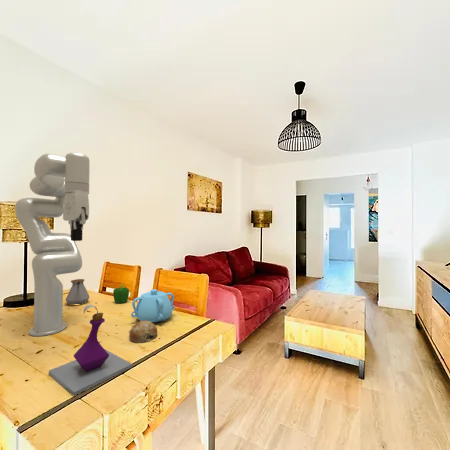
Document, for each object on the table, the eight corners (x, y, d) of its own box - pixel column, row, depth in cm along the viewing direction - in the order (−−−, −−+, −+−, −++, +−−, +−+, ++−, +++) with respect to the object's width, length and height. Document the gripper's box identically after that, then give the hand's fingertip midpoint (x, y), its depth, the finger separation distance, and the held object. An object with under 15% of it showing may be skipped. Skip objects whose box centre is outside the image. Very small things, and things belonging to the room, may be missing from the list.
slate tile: (48, 374, 70) (48, 370, 70) (104, 351, 83) (104, 348, 83) (74, 396, 61) (74, 392, 61) (132, 367, 74) (132, 363, 74)
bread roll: (137, 354, 89) (144, 336, 87) (121, 336, 94) (127, 318, 92) (158, 344, 97) (164, 327, 95) (142, 327, 102) (148, 311, 100)
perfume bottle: (100, 357, 78) (100, 299, 78) (109, 366, 72) (110, 304, 73) (73, 366, 72) (73, 304, 73) (80, 377, 67) (81, 310, 67)
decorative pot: (149, 312, 123) (149, 284, 124) (178, 315, 119) (178, 286, 119) (127, 324, 108) (127, 292, 108) (159, 328, 103) (159, 295, 103)
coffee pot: (65, 302, 140) (66, 275, 140) (88, 299, 146) (89, 273, 146) (64, 313, 122) (64, 282, 122) (91, 309, 128) (91, 280, 128)
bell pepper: (121, 305, 135) (121, 286, 135) (110, 303, 137) (110, 285, 138) (132, 301, 142) (132, 283, 143) (121, 299, 145) (121, 282, 146)
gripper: (56, 189, 90) (55, 240, 89) (75, 185, 81) (74, 241, 80) (78, 192, 96) (78, 239, 95) (98, 188, 87) (97, 241, 86)
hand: (76, 240), depth 88 cm, fingers closed
